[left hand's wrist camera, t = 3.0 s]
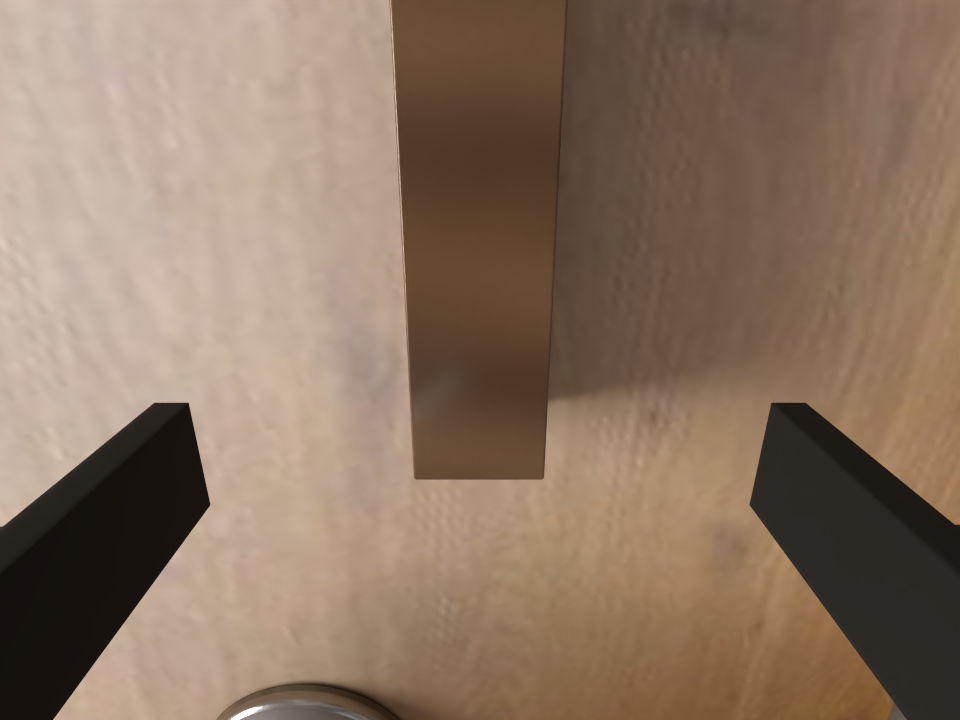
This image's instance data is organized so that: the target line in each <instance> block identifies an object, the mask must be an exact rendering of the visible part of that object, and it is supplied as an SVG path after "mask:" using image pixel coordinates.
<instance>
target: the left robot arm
mask: <svg viewBox="0 0 960 720" xmlns="http://www.w3.org/2000/svg"><path fill="white" fill-rule="evenodd" d="M209 506H210V501H209V496H208V492H207V487H206V482H205V478H204V473H203V468H202V464H201V459H200V454H199V450H198V445H197V440H196V436H195V431H194V426H193V422H192V417H191V412H190V408H189V403H154V404H153V405H151V406H150V407H149V408H148V409H146V410H145V411H144V412H143V413H141V414H140V415H139V416H138V417H137V418H135V419H134V420H133V421H132V422H130V423H129V424H128V425H127V426H126V427H124V428H123V429H122V430H121V431H119V432H118V433H117V434H116V435H115V436H113V437H112V438H111V439H110V440H108V441H107V442H106V443H105V444H104V445H102V446H101V447H100V448H99V449H97V450H96V451H95V452H94V453H93V454H91V455H90V456H89V457H88V458H86V459H85V460H84V461H83V462H82V463H80V464H79V465H78V466H77V467H75V468H74V469H73V470H72V471H71V472H69V473H68V474H67V475H66V476H64V477H63V478H62V479H61V480H60V481H58V482H57V483H56V484H55V485H53V486H52V487H51V488H50V489H49V490H47V491H46V492H45V493H44V494H42V495H41V496H40V497H39V498H38V499H36V500H35V501H34V502H33V503H31V504H30V505H29V506H28V507H26V508H25V509H24V510H23V511H22V512H20V513H19V514H18V515H17V516H15V517H14V518H13V519H12V520H11V521H9V522H8V523H7V524H6V525H4V526H3V527H0V720H53V719H54V718H55V716H56V715H57V714H58V712H59V711H60V709H61V708H62V707H63V705H64V704H65V703H66V701H67V700H68V699H69V697H70V696H71V694H72V693H73V692H74V690H75V689H76V688H77V686H78V685H79V683H80V682H81V681H82V679H83V678H84V677H85V675H86V674H87V673H88V671H89V670H90V668H91V667H92V666H93V664H94V663H95V662H96V660H97V659H98V658H99V656H100V655H101V653H102V652H103V651H104V649H105V648H106V647H107V645H108V644H109V643H110V641H111V640H112V638H113V637H114V636H115V634H116V633H117V632H118V630H119V629H120V628H121V626H122V625H123V623H124V622H125V621H126V619H127V618H128V617H129V615H130V614H131V613H132V611H133V610H134V608H135V607H136V606H137V604H138V603H139V602H140V600H141V599H142V597H143V596H144V595H145V593H146V592H147V591H148V589H149V588H150V587H151V585H152V584H153V582H154V581H155V580H156V578H157V577H158V576H159V574H160V573H161V572H162V570H163V569H164V567H165V566H166V565H167V563H168V562H169V561H170V559H171V558H172V557H173V555H174V554H175V552H176V551H177V550H178V548H179V547H180V546H181V544H182V543H183V542H184V540H185V539H186V537H187V536H188V535H189V533H190V532H191V531H192V529H193V528H194V527H195V525H196V524H197V522H198V521H199V520H200V518H201V517H202V516H203V514H204V513H205V511H206V510H207V509H208V507H209ZM750 506H751V507H752V509H753V510H754V511H755V513H756V514H757V516H758V517H759V518H760V520H761V521H762V522H763V524H764V525H765V527H766V528H767V529H768V531H769V532H770V533H771V535H772V536H773V537H774V539H775V540H776V542H777V543H778V544H779V546H780V547H781V548H782V550H783V551H784V552H785V554H786V555H787V557H788V558H789V559H790V561H791V562H792V563H793V565H794V566H795V567H796V569H797V570H798V572H799V573H800V574H801V576H802V577H803V578H804V580H805V581H806V582H807V584H808V585H809V587H810V588H811V589H812V591H813V592H814V593H815V595H816V596H817V597H818V599H819V600H820V602H821V603H822V604H823V606H824V607H825V608H826V610H827V611H828V613H829V614H830V615H831V617H832V618H833V619H834V621H835V622H836V623H837V625H838V626H839V628H840V629H841V630H842V632H843V633H844V634H845V636H846V637H847V638H848V640H849V641H850V643H851V644H852V645H853V647H854V648H855V649H856V651H857V652H858V653H859V655H860V656H861V658H862V659H863V660H864V662H865V663H866V664H867V666H868V667H869V668H870V670H871V671H872V673H873V674H874V675H875V677H876V678H877V679H878V681H879V682H880V683H881V685H882V686H883V688H884V689H885V690H886V692H887V693H888V694H889V696H890V697H891V699H892V700H893V701H894V703H895V704H896V705H897V707H898V708H899V709H900V711H901V712H902V714H903V715H904V716H905V718H906V719H907V720H960V525H954V524H953V523H952V522H951V521H949V520H948V519H947V518H946V517H945V516H943V515H942V514H941V513H940V512H938V511H937V510H936V509H935V508H934V507H932V506H931V505H930V504H929V503H927V502H926V501H925V500H924V499H922V498H921V497H920V496H919V495H918V494H916V493H915V492H914V491H913V490H911V489H910V488H909V487H908V486H907V485H905V484H904V483H903V482H902V481H900V480H899V479H898V478H897V477H896V476H894V475H893V474H892V473H891V472H889V471H888V470H887V469H886V468H885V467H883V466H882V465H881V464H880V463H878V462H877V461H876V460H875V459H874V458H872V457H871V456H870V455H869V454H867V453H866V452H865V451H864V450H863V449H861V448H860V447H859V446H858V445H856V444H855V443H854V442H853V441H852V440H850V439H849V438H848V437H847V436H845V435H844V434H843V433H842V432H841V431H839V430H838V429H837V428H836V427H834V426H833V425H832V424H831V423H830V422H828V421H827V420H826V419H825V418H823V417H822V416H821V415H820V414H819V413H817V412H816V411H815V410H814V409H812V408H811V407H810V406H809V405H807V404H806V403H771V408H770V412H769V417H768V422H767V426H766V431H765V436H764V440H763V445H762V450H761V454H760V459H759V464H758V468H757V473H756V478H755V482H754V487H753V492H752V496H751V501H750ZM217 720H398V719H397V718H395V717H394V716H393V715H392V714H391V713H389V712H388V711H387V710H385V709H384V708H382V707H381V706H379V705H377V704H376V703H374V702H372V701H370V700H368V699H366V698H364V697H361V696H359V695H356V694H353V693H350V692H347V691H344V690H340V689H336V688H330V687H324V686H316V685H288V686H280V687H274V688H269V689H265V690H261V691H258V692H255V693H253V694H250V695H248V696H246V697H244V698H242V699H240V700H238V701H237V702H235V703H234V704H232V705H231V706H229V707H228V708H227V709H226V710H225V711H224V712H223V713H222V714H221V715H220V716H219V717H218V719H217Z"/></svg>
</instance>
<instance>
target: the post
mask: <svg viewBox="0 0 960 720" xmlns="http://www.w3.org/2000/svg"><path fill="white" fill-rule="evenodd" d="M567 3H568V0H390V19H391V39H392V58H393V78H394V97H395V117H396V136H397V156H398V175H399V195H400V214H401V234H402V253H403V273H404V292H405V312H406V331H407V351H408V370H409V390H410V410H411V429H412V449H413V468H414V478H415V479H543V478H544V467H545V446H546V426H547V406H548V386H549V366H550V346H551V326H552V305H553V285H554V265H555V245H556V225H557V205H558V184H559V164H560V144H561V124H562V104H563V84H564V64H565V43H566V23H567Z"/></svg>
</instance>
